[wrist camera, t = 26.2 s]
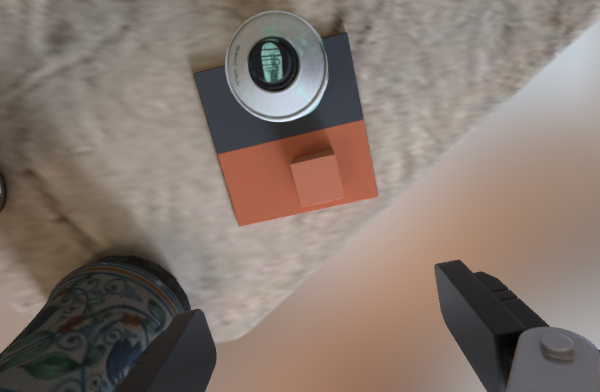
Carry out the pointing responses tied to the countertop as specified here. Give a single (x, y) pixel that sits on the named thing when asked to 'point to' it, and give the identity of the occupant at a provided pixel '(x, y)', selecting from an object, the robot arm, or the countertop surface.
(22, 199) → the countertop surface
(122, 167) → the countertop surface
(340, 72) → the sorting mat
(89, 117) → the countertop surface
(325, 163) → the terracotta block
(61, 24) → the countertop surface
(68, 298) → the beer stein
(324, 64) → the spray can
